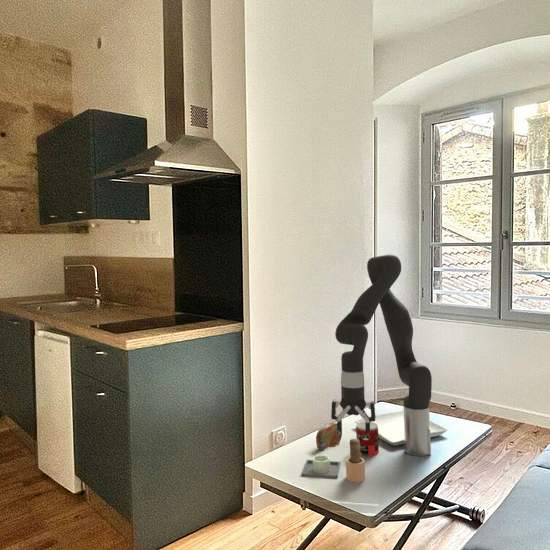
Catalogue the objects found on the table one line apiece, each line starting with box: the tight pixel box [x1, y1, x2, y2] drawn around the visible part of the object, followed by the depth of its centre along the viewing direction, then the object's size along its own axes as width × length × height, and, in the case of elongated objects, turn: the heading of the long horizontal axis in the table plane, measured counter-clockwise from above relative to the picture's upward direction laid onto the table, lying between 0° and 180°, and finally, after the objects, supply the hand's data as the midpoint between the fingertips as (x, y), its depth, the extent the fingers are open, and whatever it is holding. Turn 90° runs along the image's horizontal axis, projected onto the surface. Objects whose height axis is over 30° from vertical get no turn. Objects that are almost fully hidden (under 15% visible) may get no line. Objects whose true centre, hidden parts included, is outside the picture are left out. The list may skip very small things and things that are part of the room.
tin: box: [315, 422, 343, 451], centre depth 193 cm, size 15×3×8 cm, turn 141°
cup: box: [345, 456, 366, 483], centre depth 164 cm, size 6×6×7 cm
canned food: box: [355, 422, 380, 457], centre depth 184 cm, size 8×8×11 cm
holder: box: [311, 454, 331, 474], centre depth 171 cm, size 6×6×4 cm
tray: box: [301, 459, 341, 479], centre depth 171 cm, size 12×11×2 cm
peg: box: [349, 438, 361, 463], centre depth 164 cm, size 3×3×13 cm
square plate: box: [354, 410, 448, 447], centre depth 205 cm, size 27×27×4 cm
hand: (353, 432), depth 163 cm, fingers open, 8 cm apart
